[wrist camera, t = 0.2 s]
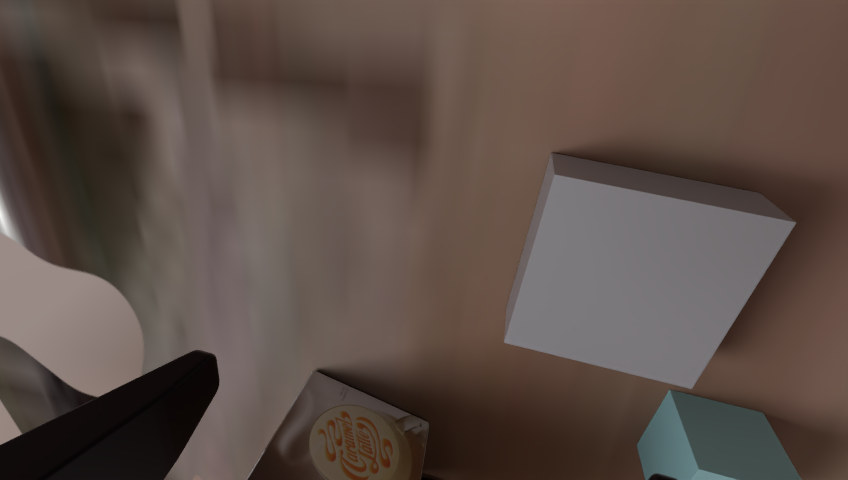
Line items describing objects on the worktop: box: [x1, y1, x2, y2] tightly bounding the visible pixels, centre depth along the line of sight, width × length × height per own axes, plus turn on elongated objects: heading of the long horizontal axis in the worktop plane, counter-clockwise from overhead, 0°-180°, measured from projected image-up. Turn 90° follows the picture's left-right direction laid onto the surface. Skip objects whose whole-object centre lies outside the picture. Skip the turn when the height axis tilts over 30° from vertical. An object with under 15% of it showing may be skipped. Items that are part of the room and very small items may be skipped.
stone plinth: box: [504, 153, 796, 389], centre depth 20 cm, size 9×9×3 cm
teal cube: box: [637, 390, 801, 480], centre depth 24 cm, size 5×5×5 cm
